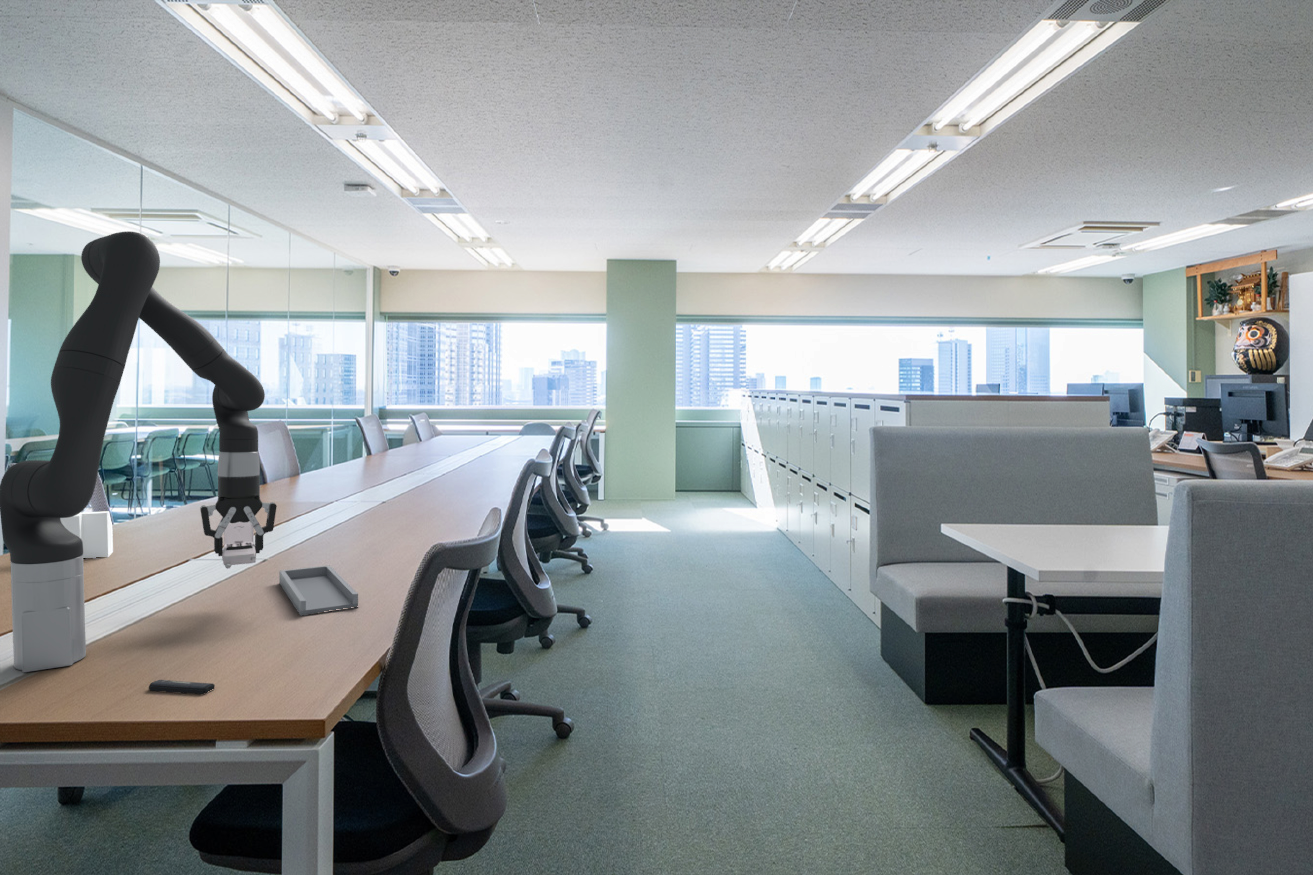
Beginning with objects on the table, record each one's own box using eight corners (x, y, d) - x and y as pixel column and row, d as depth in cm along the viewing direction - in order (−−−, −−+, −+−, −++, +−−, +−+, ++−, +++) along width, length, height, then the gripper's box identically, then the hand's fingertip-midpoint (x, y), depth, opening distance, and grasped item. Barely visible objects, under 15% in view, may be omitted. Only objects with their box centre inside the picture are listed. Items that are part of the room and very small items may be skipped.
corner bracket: (54, 563, 189) (53, 517, 188) (64, 555, 199) (63, 510, 198) (106, 559, 194) (104, 514, 193) (113, 551, 204) (111, 508, 203)
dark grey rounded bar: (217, 690, 112) (217, 680, 112) (204, 697, 110) (204, 687, 109) (160, 686, 113) (160, 676, 113) (146, 693, 111) (146, 683, 111)
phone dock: (358, 607, 155) (358, 593, 155) (300, 615, 148) (300, 601, 148) (329, 577, 179) (329, 565, 179) (279, 583, 173) (279, 570, 173)
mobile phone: (254, 520, 165) (256, 537, 144) (254, 546, 165) (257, 567, 144) (222, 522, 162) (220, 540, 141) (223, 549, 163) (221, 571, 141)
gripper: (198, 476, 145) (199, 560, 146) (280, 473, 153) (280, 554, 154) (197, 473, 151) (197, 554, 152) (275, 471, 159) (275, 548, 160)
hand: (239, 553), depth 153 cm, fingers closed on mobile phone, 6 cm apart
